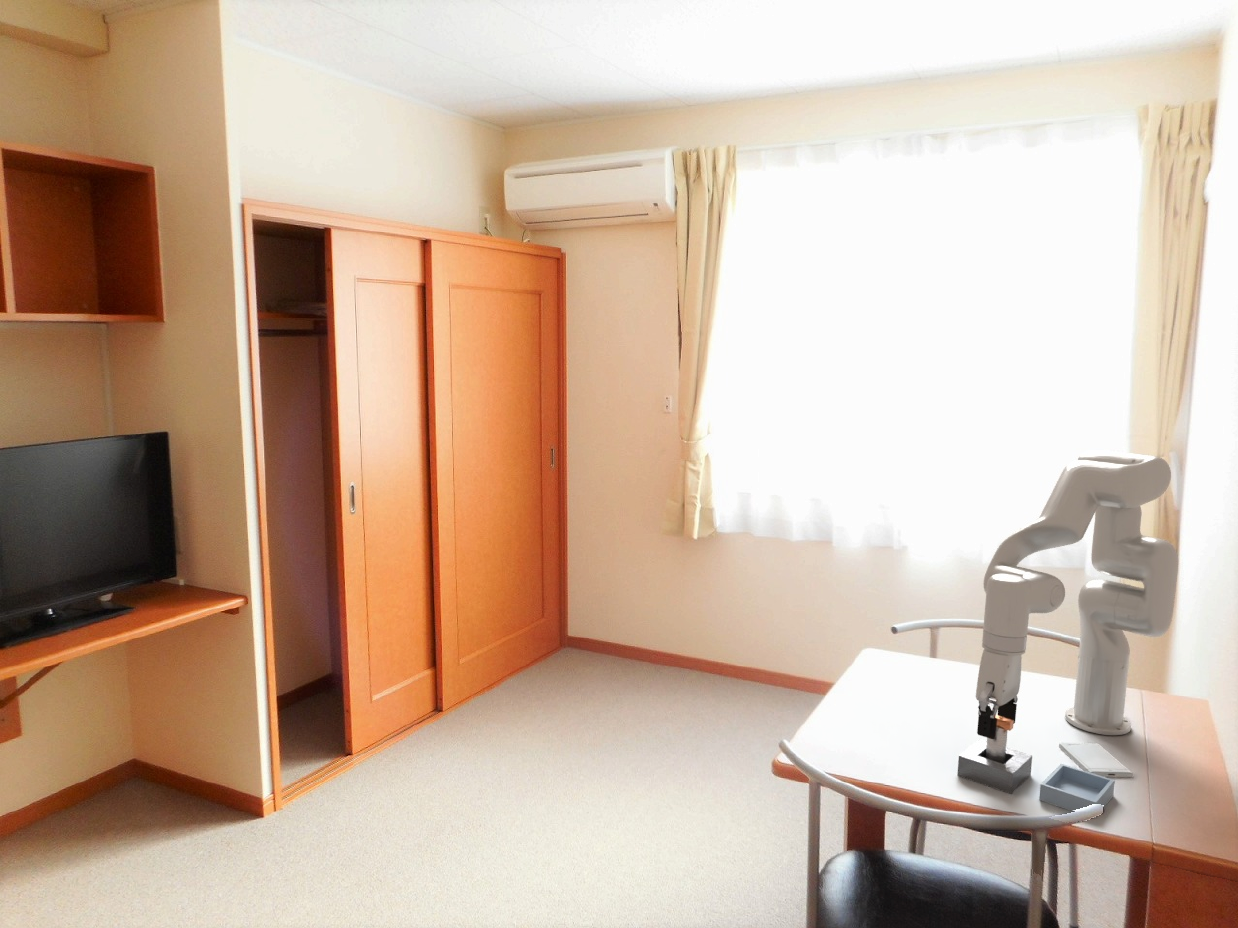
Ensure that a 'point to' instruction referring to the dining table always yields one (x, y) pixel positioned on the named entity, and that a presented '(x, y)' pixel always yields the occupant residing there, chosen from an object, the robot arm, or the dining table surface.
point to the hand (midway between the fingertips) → (996, 729)
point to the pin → (999, 740)
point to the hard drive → (1095, 759)
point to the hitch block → (994, 767)
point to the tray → (1075, 788)
